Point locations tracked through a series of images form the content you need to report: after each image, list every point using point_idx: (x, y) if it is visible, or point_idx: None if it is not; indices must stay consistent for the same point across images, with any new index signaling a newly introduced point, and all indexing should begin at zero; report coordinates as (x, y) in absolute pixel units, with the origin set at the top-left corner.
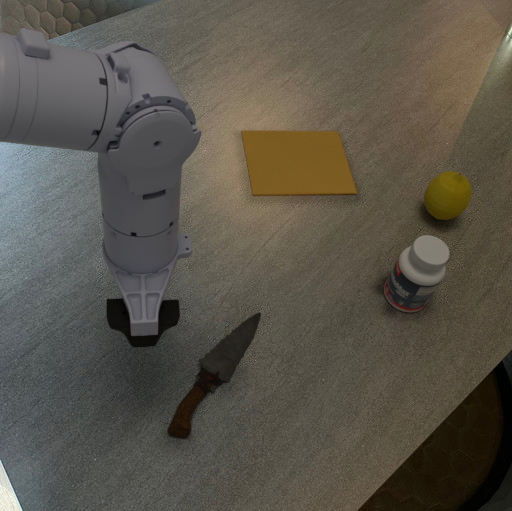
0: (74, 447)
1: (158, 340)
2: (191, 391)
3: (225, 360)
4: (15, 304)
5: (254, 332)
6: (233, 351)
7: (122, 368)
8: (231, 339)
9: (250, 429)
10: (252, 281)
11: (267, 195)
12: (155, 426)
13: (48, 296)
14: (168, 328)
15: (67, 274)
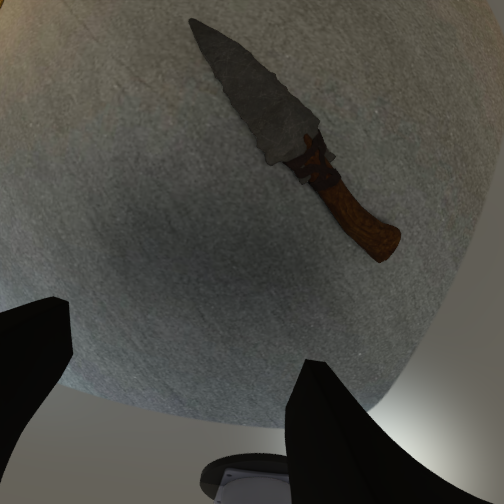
0: None
1: (339, 379)
2: (332, 203)
3: (282, 111)
4: (105, 390)
5: (229, 38)
6: (265, 89)
7: (232, 295)
8: (237, 84)
9: (409, 122)
10: (119, 23)
11: (1, 3)
12: (352, 270)
13: (93, 356)
14: (451, 486)
15: None
